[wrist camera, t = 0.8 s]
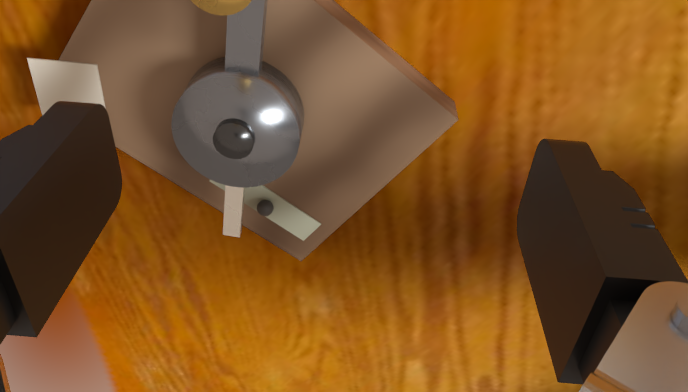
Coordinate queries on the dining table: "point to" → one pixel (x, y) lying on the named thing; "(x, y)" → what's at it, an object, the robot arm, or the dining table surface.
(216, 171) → the capstan
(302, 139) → the stand
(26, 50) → the dining table surface
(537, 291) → the robot arm
